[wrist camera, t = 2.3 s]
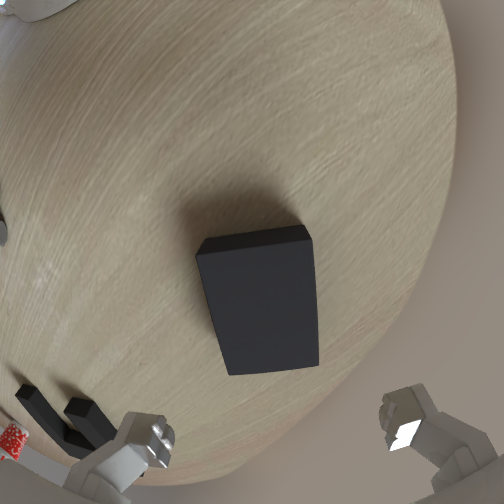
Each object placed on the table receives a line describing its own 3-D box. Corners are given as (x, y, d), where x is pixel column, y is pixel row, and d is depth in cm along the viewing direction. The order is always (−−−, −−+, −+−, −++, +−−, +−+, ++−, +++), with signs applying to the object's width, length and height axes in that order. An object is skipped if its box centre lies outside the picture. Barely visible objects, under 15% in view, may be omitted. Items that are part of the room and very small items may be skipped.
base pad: (23, 383, 23) (14, 395, 21) (94, 401, 22) (85, 417, 19) (74, 444, 28) (69, 455, 25) (147, 463, 26) (143, 477, 24)
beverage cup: (34, 440, 32) (11, 483, 19) (13, 424, 31) (-12, 465, 18) (29, 430, 30) (3, 477, 17) (7, 413, 29) (-21, 457, 16)
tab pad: (204, 238, 15) (194, 254, 13) (304, 224, 15) (312, 238, 12) (232, 350, 18) (228, 376, 16) (313, 340, 17) (319, 366, 15)
